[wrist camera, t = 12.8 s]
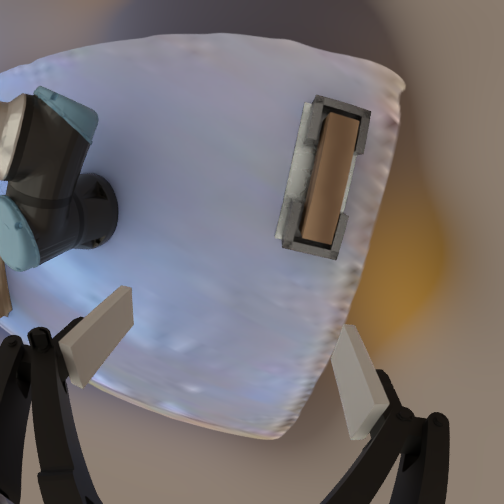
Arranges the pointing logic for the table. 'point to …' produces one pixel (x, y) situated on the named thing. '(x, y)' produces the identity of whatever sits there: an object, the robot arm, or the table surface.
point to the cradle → (4, 291)
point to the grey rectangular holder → (303, 172)
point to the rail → (329, 178)
